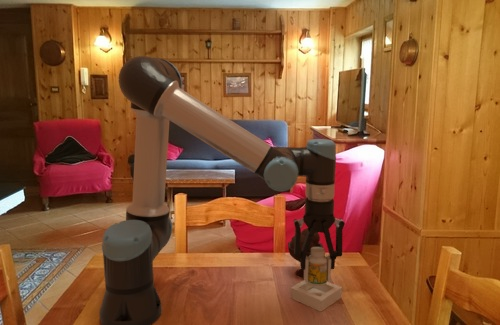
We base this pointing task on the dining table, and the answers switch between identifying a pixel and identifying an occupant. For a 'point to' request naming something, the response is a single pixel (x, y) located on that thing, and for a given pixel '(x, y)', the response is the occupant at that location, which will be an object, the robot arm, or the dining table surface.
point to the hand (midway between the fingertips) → (316, 279)
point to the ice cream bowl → (291, 246)
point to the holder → (316, 294)
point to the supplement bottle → (317, 267)
